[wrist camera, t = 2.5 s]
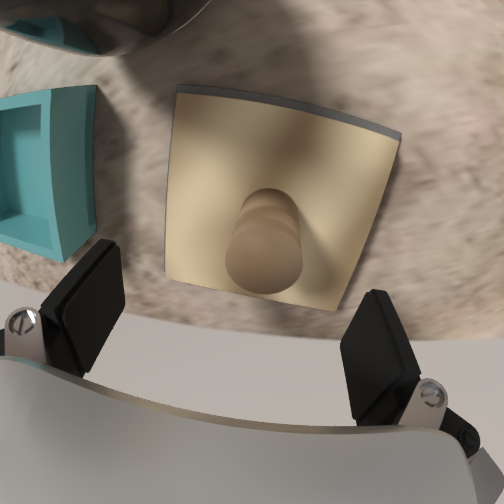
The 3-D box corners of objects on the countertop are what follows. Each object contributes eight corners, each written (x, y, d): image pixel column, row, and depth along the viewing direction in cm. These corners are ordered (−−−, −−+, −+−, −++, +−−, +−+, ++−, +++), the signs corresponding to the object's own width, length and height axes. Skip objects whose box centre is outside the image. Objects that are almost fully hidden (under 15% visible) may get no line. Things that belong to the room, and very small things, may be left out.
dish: (96, 84, 14) (51, 89, 10) (96, 231, 20) (63, 262, 16) (4, 97, 14) (-34, 108, 10) (12, 212, 20) (-18, 234, 16)
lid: (391, 138, 14) (445, 164, 9) (333, 300, 20) (344, 368, 15) (184, 93, 14) (132, 95, 9) (170, 268, 20) (137, 328, 15)
